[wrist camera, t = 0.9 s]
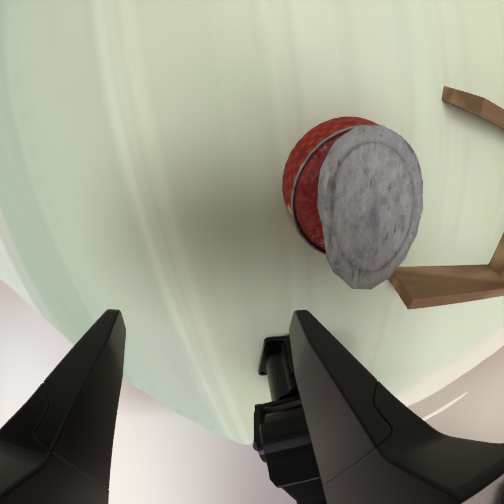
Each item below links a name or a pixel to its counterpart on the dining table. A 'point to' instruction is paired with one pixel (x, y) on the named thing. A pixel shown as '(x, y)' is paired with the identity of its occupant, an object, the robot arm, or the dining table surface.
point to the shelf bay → (455, 277)
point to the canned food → (355, 197)
